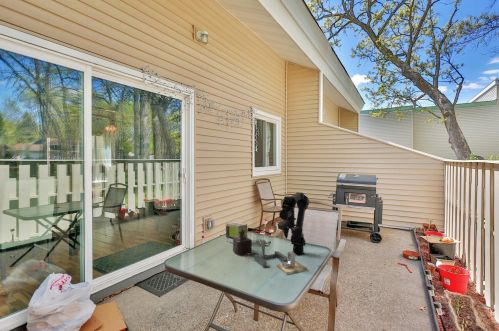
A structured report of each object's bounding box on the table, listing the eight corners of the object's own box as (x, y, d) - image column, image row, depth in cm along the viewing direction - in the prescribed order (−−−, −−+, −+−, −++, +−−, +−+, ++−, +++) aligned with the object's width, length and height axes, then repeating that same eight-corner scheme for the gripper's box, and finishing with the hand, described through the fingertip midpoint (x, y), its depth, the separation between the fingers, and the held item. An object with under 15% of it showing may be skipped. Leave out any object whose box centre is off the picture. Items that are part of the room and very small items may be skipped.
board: (295, 262, 159) (295, 260, 159) (307, 269, 148) (307, 267, 148) (275, 266, 153) (275, 264, 153) (286, 274, 142) (286, 272, 142)
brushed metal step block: (292, 264, 153) (291, 251, 152) (294, 266, 150) (294, 253, 150) (282, 266, 150) (281, 253, 150) (284, 268, 147) (284, 255, 147)
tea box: (247, 242, 199) (247, 223, 199) (238, 245, 192) (238, 226, 191) (234, 238, 209) (234, 220, 209) (225, 241, 202) (225, 223, 202)
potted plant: (231, 251, 180) (231, 226, 180) (245, 248, 185) (245, 224, 185) (240, 258, 166) (240, 231, 166) (255, 255, 171) (255, 229, 171)
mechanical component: (270, 256, 170) (270, 241, 169) (255, 255, 172) (255, 240, 172) (271, 254, 173) (271, 240, 172) (256, 253, 175) (256, 239, 174)
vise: (277, 256, 170) (277, 250, 170) (287, 262, 159) (287, 257, 159) (254, 260, 163) (254, 255, 163) (263, 267, 152) (263, 261, 152)
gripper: (271, 214, 166) (272, 238, 167) (287, 221, 149) (287, 247, 150) (285, 213, 171) (286, 235, 171) (302, 218, 154) (303, 244, 155)
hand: (290, 240), depth 162 cm, fingers open, 9 cm apart
